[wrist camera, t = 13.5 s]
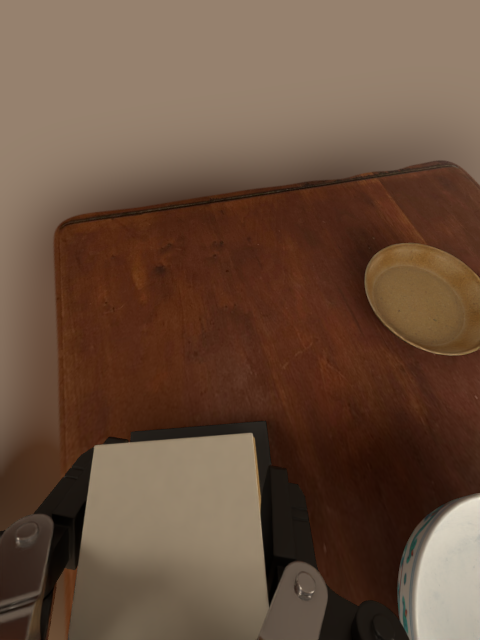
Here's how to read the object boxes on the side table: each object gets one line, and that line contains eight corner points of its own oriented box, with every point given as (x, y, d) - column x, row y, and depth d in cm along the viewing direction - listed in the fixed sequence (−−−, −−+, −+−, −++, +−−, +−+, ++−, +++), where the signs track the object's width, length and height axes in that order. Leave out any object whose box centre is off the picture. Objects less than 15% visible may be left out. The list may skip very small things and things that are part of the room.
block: (141, 574, 14) (61, 677, 7) (148, 458, 16) (93, 444, 9) (246, 561, 14) (272, 645, 7) (238, 450, 17) (252, 432, 10)
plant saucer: (495, 301, 36) (514, 289, 34) (452, 391, 30) (471, 384, 28) (388, 238, 40) (399, 224, 38) (332, 308, 34) (340, 296, 32)
